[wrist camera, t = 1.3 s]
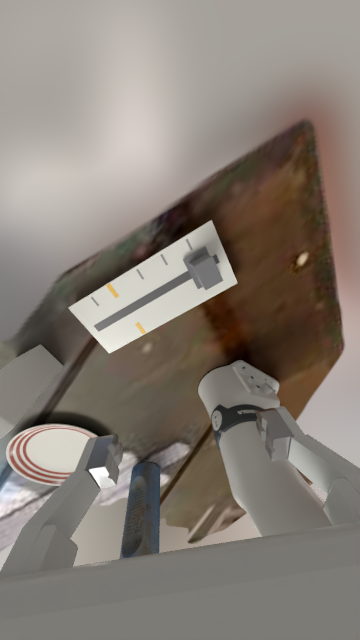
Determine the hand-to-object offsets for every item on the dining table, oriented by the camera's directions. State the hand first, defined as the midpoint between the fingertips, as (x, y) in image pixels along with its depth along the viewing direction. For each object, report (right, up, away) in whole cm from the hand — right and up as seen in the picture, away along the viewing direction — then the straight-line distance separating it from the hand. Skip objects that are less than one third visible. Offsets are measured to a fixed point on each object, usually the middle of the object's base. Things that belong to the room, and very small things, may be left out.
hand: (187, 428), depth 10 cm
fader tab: (+3, +15, +21) cm, 27 cm away
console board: (-6, +12, +26) cm, 29 cm away
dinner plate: (-35, -32, +43) cm, 64 cm away
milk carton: (-32, -3, +30) cm, 45 cm away
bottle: (-12, -45, +51) cm, 69 cm away
